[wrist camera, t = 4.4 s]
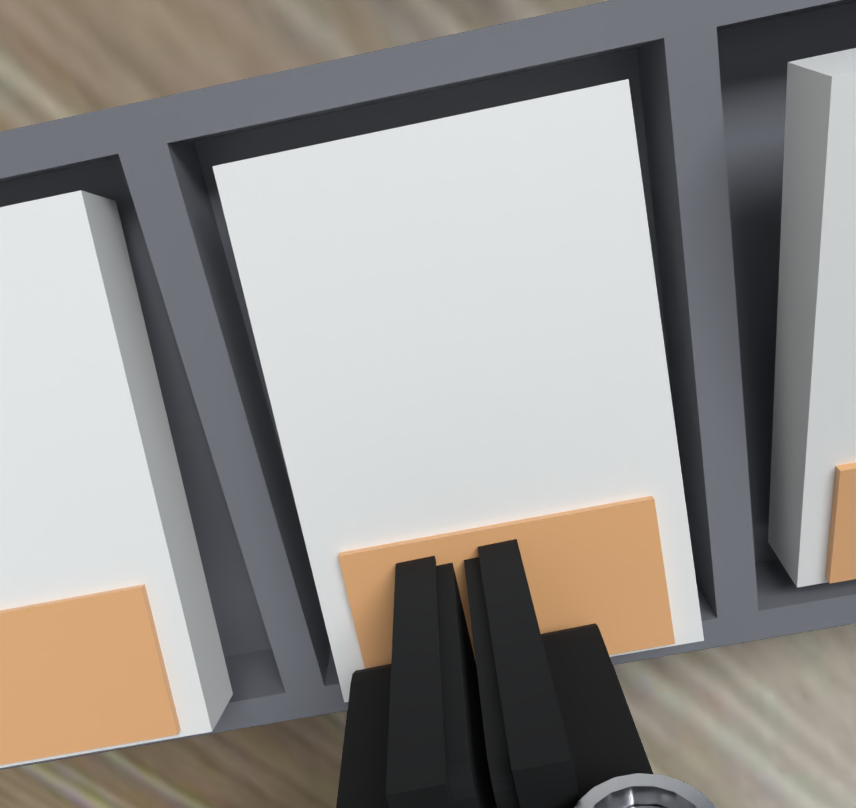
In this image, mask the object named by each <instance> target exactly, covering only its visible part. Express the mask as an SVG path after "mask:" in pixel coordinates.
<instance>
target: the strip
mask: <svg viewBox="0 0 856 808" xmlns="http://www.w3.org/2000/svg"><path fill="white" fill-rule="evenodd" d="M853 48H856V0H611V1H607V2H602V3H597V4H593V5H588V6H583V7H579V8H574V9H569V10H565V11H560V12H555V13H551V14H546V15H541V16H537V17H532V18H528V19H523V20H518V21H514V22H509V23H504V24H500V25H495V26H490V27H486V28H481V29H476V30H472V31H467V32H462V33H458V34H453V35H448V36H444V37H439V38H435V39H430V40H425V41H421V42H416V43H411V44H407V45H402V46H397V47H393V48H388V49H383V50H379V51H374V52H369V53H365V54H360V55H356V56H351V57H346V58H342V59H337V60H332V61H328V62H323V63H318V64H314V65H309V66H304V67H300V68H295V69H290V70H286V71H281V72H276V73H272V74H267V75H263V76H258V77H253V78H249V79H244V80H239V81H235V82H230V83H225V84H221V85H216V86H211V87H207V88H202V89H197V90H193V91H188V92H183V93H179V94H174V95H170V96H165V97H160V98H156V99H151V100H146V101H142V102H137V103H132V104H128V105H123V106H118V107H114V108H109V109H104V110H100V111H95V112H91V113H86V114H81V115H77V116H72V117H67V118H63V119H58V120H53V121H49V122H44V123H39V124H35V125H30V126H25V127H21V128H16V129H11V130H7V131H2V132H0V207H4V206H9V205H14V204H18V203H23V202H28V201H33V200H37V199H42V198H47V197H52V196H56V195H61V194H66V193H71V192H76V191H80V190H82V191H85V192H88V193H91V194H95V195H98V196H101V197H105V198H108V199H111V200H114V201H116V204H117V208H118V212H119V216H120V220H121V225H122V229H123V233H124V237H125V242H126V246H127V250H128V254H129V258H130V263H131V267H132V271H133V275H134V279H135V284H136V288H137V292H138V296H139V300H140V305H141V309H142V313H143V317H144V322H145V326H146V330H147V334H148V338H149V343H150V347H151V351H152V355H153V359H154V364H155V368H156V372H157V376H158V380H159V385H160V389H161V393H162V397H163V402H164V406H165V410H166V414H167V418H168V423H169V427H170V431H171V435H172V439H173V444H174V448H175V452H176V456H177V461H178V465H179V469H180V473H181V477H182V482H183V486H184V490H185V494H186V498H187V503H188V507H189V511H190V515H191V519H192V524H193V528H194V532H195V536H196V541H197V545H198V549H199V553H200V557H201V562H202V566H203V570H204V574H205V578H206V583H207V587H208V591H209V595H210V599H211V604H212V608H213V612H214V616H215V621H216V625H217V629H218V633H219V637H220V642H221V646H222V650H223V654H224V658H225V663H226V667H227V671H228V675H229V679H230V684H231V688H232V692H233V695H232V697H231V699H230V701H229V702H228V704H227V706H226V708H225V710H224V711H223V713H222V715H221V717H220V718H219V720H218V722H217V724H216V726H215V727H214V729H213V731H212V732H207V733H202V734H196V735H190V736H184V737H178V738H172V739H167V740H161V741H155V742H149V743H143V744H137V745H132V746H126V747H120V748H114V749H108V750H102V751H97V752H91V753H85V754H79V755H73V756H67V757H62V758H56V759H50V760H44V761H38V762H33V763H27V764H21V765H15V766H9V767H3V768H0V770H2V769H8V768H14V767H20V766H25V765H31V764H37V763H43V762H49V761H55V760H60V759H66V758H72V757H78V756H84V755H90V754H95V753H101V752H107V751H113V750H119V749H125V748H130V747H136V746H142V745H148V744H154V743H160V742H166V741H171V740H177V739H183V738H189V737H195V736H201V735H206V734H212V733H218V732H224V731H230V730H236V729H241V728H247V727H253V726H259V725H265V724H271V723H276V722H282V721H288V720H294V719H300V718H306V717H311V716H317V715H323V714H329V713H335V712H341V711H346V710H348V702H344V699H343V695H342V691H341V687H340V683H339V678H338V674H337V670H336V666H335V662H334V658H333V654H332V650H331V646H330V642H329V638H328V634H327V630H326V626H325V622H324V618H323V614H322V609H321V605H320V601H319V597H318V593H317V589H316V585H315V581H314V577H313V573H312V569H311V565H310V561H309V557H308V553H307V549H306V545H305V540H304V536H303V532H302V528H301V524H300V520H299V516H298V512H297V508H296V504H295V500H294V496H293V492H292V488H291V484H290V480H289V475H288V471H287V467H286V463H285V459H284V455H283V451H282V447H281V443H280V439H279V435H278V431H277V427H276V423H275V419H274V415H273V411H272V406H271V402H270V398H269V394H268V390H267V386H266V382H265V378H264V374H263V370H262V366H261V362H260V358H259V354H258V350H257V346H256V342H255V337H254V333H253V329H252V325H251V321H250V317H249V313H248V309H247V305H246V301H245V297H244V293H243V289H242V285H241V281H240V277H239V273H238V268H237V264H236V260H235V256H234V252H233V248H232V244H231V240H230V236H229V232H228V228H227V224H226V220H225V216H224V212H223V208H222V204H221V199H220V195H219V191H218V187H217V183H216V179H215V175H214V171H213V167H212V166H216V165H221V164H226V163H230V162H235V161H240V160H245V159H250V158H254V157H259V156H264V155H269V154H273V153H278V152H283V151H288V150H292V149H297V148H302V147H307V146H312V145H316V144H321V143H326V142H331V141H335V140H340V139H345V138H350V137H354V136H359V135H364V134H369V133H374V132H378V131H383V130H388V129H393V128H397V127H402V126H407V125H412V124H416V123H421V122H426V121H431V120H436V119H440V118H445V117H450V116H455V115H459V114H464V113H469V112H474V111H478V110H483V109H488V108H493V107H498V106H502V105H507V104H512V103H517V102H521V101H526V100H531V99H536V98H540V97H545V96H550V95H555V94H560V93H564V92H569V91H574V90H579V89H583V88H588V87H593V86H598V85H602V84H607V83H612V82H617V81H621V80H626V79H629V86H630V94H631V101H632V109H633V116H634V124H635V131H636V138H637V146H638V153H639V161H640V168H641V176H642V183H643V190H644V198H645V205H646V213H647V220H648V228H649V235H650V242H651V250H652V257H653V265H654V272H655V279H656V287H657V294H658V302H659V309H660V317H661V324H662V331H663V339H664V346H665V354H666V361H667V369H668V376H669V383H670V391H671V398H672V406H673V413H674V421H675V428H676V435H677V443H678V450H679V458H680V465H681V473H682V480H683V487H684V495H685V502H686V510H687V517H688V524H689V532H690V539H691V547H692V554H693V562H694V569H695V576H696V584H697V591H698V599H699V606H700V614H701V621H702V628H703V636H704V641H699V642H693V643H688V644H682V645H676V646H670V647H664V648H658V649H653V650H647V651H641V652H635V653H629V654H624V655H618V656H612V657H610V659H611V662H612V664H613V665H615V664H621V663H626V662H632V661H638V660H644V659H650V658H656V657H661V656H667V655H673V654H679V653H685V652H691V651H696V650H702V649H708V648H714V647H720V646H726V645H731V644H737V643H743V642H749V641H755V640H761V639H766V638H772V637H778V636H784V635H790V634H796V633H801V632H807V631H813V630H819V629H825V628H831V627H836V626H842V625H848V624H854V623H856V579H853V580H848V581H842V582H836V583H830V584H829V582H827V583H821V584H815V585H809V586H804V587H798V588H797V587H796V585H795V584H794V582H793V581H792V579H791V577H790V576H789V574H788V573H787V571H786V570H785V568H784V566H783V565H782V563H781V562H780V560H779V559H778V557H777V555H776V554H775V552H774V551H773V549H772V547H771V546H770V544H769V543H768V527H769V503H770V478H771V454H772V430H773V405H774V381H775V357H776V332H777V308H778V283H779V259H780V235H781V210H782V186H783V162H784V137H785V113H786V89H787V64H788V62H791V61H796V60H800V59H805V58H810V57H815V56H819V55H824V54H829V53H834V52H839V51H843V50H848V49H853Z"/></svg>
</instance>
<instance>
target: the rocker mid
mask: <svg viewBox="0 0 856 808" xmlns="http://www.w3.org/2000/svg"><path fill="white" fill-rule="evenodd" d="M212 167H213V171H214V175H215V179H216V183H217V187H218V191H219V195H220V199H221V204H222V208H223V212H224V216H225V220H226V224H227V228H228V232H229V236H230V240H231V244H232V248H233V252H234V256H235V260H236V264H237V268H238V273H239V277H240V281H241V285H242V289H243V293H244V297H245V301H246V305H247V309H248V313H249V317H250V321H251V325H252V329H253V333H254V337H255V342H256V346H257V350H258V354H259V358H260V362H261V366H262V370H263V374H264V378H265V382H266V386H267V390H268V394H269V398H270V402H271V406H272V411H273V415H274V419H275V423H276V427H277V431H278V435H279V439H280V443H281V447H282V451H283V455H284V459H285V463H286V467H287V471H288V475H289V480H290V484H291V488H292V492H293V496H294V500H295V504H296V508H297V512H298V516H299V520H300V524H301V528H302V532H303V536H304V540H305V545H306V549H307V553H308V557H309V561H310V565H311V569H312V573H313V577H314V581H315V585H316V589H317V593H318V597H319V601H320V605H321V609H322V614H323V618H324V622H325V626H326V630H327V634H328V638H329V642H330V646H331V650H332V654H333V658H334V662H335V666H336V670H337V674H338V678H339V683H340V687H341V691H342V695H343V699H344V702H349V693H350V684H351V679H352V674H353V673H354V672H355V671H356V670H361V669H367V668H372V667H377V666H382V665H387V664H391V660H392V636H393V613H394V590H395V567H396V563H400V562H405V561H410V560H415V559H420V558H425V557H430V556H435V559H436V566H437V565H442V564H447V563H452V562H453V566H454V571H455V575H456V579H457V584H458V588H459V593H460V597H461V601H462V606H463V610H464V614H465V619H466V623H467V627H468V632H469V636H470V640H471V645H472V649H473V654H474V658H475V650H474V642H473V633H472V625H471V616H470V608H469V599H468V590H467V582H466V573H465V565H464V560H466V559H471V558H476V557H479V554H478V547H479V546H484V545H489V544H494V543H499V542H504V541H509V540H514V539H517V542H518V546H519V550H520V554H521V558H522V562H523V566H524V570H525V574H526V578H527V582H528V586H529V589H530V593H531V597H532V601H533V605H534V609H535V613H536V617H537V621H538V625H539V629H540V633H541V634H543V633H548V632H553V631H559V630H564V629H569V628H574V627H579V626H584V625H589V624H594V623H596V624H597V625H598V628H599V630H600V632H601V635H602V637H603V640H604V643H605V646H606V648H607V651H608V654H609V656H610V657H612V656H618V655H624V654H629V653H635V652H641V651H647V650H653V649H658V648H664V647H670V646H676V645H682V644H688V643H693V642H699V641H704V636H703V628H702V621H701V614H700V606H699V599H698V591H697V584H696V576H695V569H694V562H693V554H692V547H691V539H690V532H689V524H688V517H687V510H686V502H685V495H684V487H683V480H682V473H681V465H680V458H679V450H678V443H677V435H676V428H675V421H674V413H673V406H672V398H671V391H670V383H669V376H668V369H667V361H666V354H665V346H664V339H663V331H662V324H661V317H660V309H659V302H658V294H657V287H656V279H655V272H654V265H653V257H652V250H651V242H650V235H649V228H648V220H647V213H646V205H645V198H644V190H643V183H642V176H641V168H640V161H639V153H638V146H637V138H636V131H635V124H634V116H633V109H632V101H631V94H630V86H629V79H626V80H621V81H617V82H612V83H607V84H602V85H598V86H593V87H588V88H583V89H579V90H574V91H569V92H564V93H560V94H555V95H550V96H545V97H540V98H536V99H531V100H526V101H521V102H517V103H512V104H507V105H502V106H498V107H493V108H488V109H483V110H478V111H474V112H469V113H464V114H459V115H455V116H450V117H445V118H440V119H436V120H431V121H426V122H421V123H416V124H412V125H407V126H402V127H397V128H393V129H388V130H383V131H378V132H374V133H369V134H364V135H359V136H354V137H350V138H345V139H340V140H335V141H331V142H326V143H321V144H316V145H312V146H307V147H302V148H297V149H292V150H288V151H283V152H278V153H273V154H269V155H264V156H259V157H254V158H250V159H245V160H240V161H235V162H230V163H226V164H221V165H216V166H212ZM475 662H476V659H475Z"/></svg>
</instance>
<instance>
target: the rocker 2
mask: <svg viewBox="0 0 856 808" xmlns="http://www.w3.org/2000/svg"><path fill="white" fill-rule="evenodd" d="M768 543H769V544H770V546H771V547H772V549H773V551H774V552H775V554H776V555H777V557H778V559H779V560H780V562H781V563H782V565H783V566H784V568H785V570H786V571H787V573H788V574H789V576H790V577H791V579H792V581H793V582H794V584H795V585H796V587H797V588H798V587H804V586H809V585H815V584H821V583H827V582H829V584H830V583H836V582H842V581H848V580H853V579H856V48H853V49H848V50H843V51H839V52H834V53H829V54H824V55H819V56H815V57H810V58H805V59H800V60H796V61H791V62H788V64H787V89H786V113H785V137H784V162H783V186H782V210H781V235H780V259H779V283H778V308H777V332H776V357H775V381H774V405H773V430H772V454H771V478H770V503H769V527H768Z"/></svg>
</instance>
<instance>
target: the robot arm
mask: <svg viewBox="0 0 856 808" xmlns="http://www.w3.org/2000/svg"><path fill="white" fill-rule="evenodd" d="M478 554H479V557H476V558H471V559H466V560H464V565H465V573H466V582H467V590H468V599H469V608H470V616H471V625H472V633H473V642H474V650H475V658H474V654H473V649H472V645H471V640H470V636H469V632H468V627H467V623H466V619H465V614H464V610H463V606H462V601H461V597H460V593H459V588H458V584H457V579H456V575H455V571H454V566H453V562H452V563H447V564H442V565H437V566H436V559H435V556H430V557H425V558H420V559H415V560H410V561H405V562H400V563H396V567H395V590H394V613H393V636H392V660H391V664H387V665H382V666H377V667H372V668H367V669H361V670H356V671H355V672H354V673H353V674H352V679H351V684H350V693H349V702H348V710H347V719H346V728H345V737H344V745H343V754H342V763H341V772H340V780H339V789H338V798H337V806H336V808H716V807H715V806H714V805H713V804H712V802H711V801H710V800H709V799H708V798H707V797H706V796H705V795H704V794H703V793H701V792H699V791H698V790H696V789H695V788H693V787H691V786H690V785H688V784H686V783H685V782H682V781H679V780H676V779H673V778H670V777H667V776H663V775H657V774H653V772H652V769H651V767H650V764H649V761H648V759H647V756H646V753H645V751H644V748H643V745H642V742H641V740H640V737H639V734H638V732H637V729H636V726H635V724H634V721H633V718H632V716H631V713H630V710H629V707H628V705H627V702H626V699H625V697H624V694H623V691H622V689H621V686H620V683H619V681H618V678H617V675H616V672H615V670H614V667H613V664H612V662H611V659H610V656H609V654H608V651H607V648H606V646H605V643H604V640H603V637H602V635H601V632H600V630H599V628H598V625H597V624H596V623H594V624H589V625H584V626H579V627H574V628H569V629H564V630H559V631H553V632H548V633H543V634H541V633H540V629H539V625H538V621H537V617H536V613H535V609H534V605H533V601H532V597H531V593H530V589H529V586H528V582H527V578H526V574H525V570H524V566H523V562H522V558H521V554H520V550H519V546H518V542H517V539H514V540H509V541H504V542H499V543H494V544H489V545H484V546H479V547H478ZM475 659H476V662H475Z"/></svg>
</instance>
